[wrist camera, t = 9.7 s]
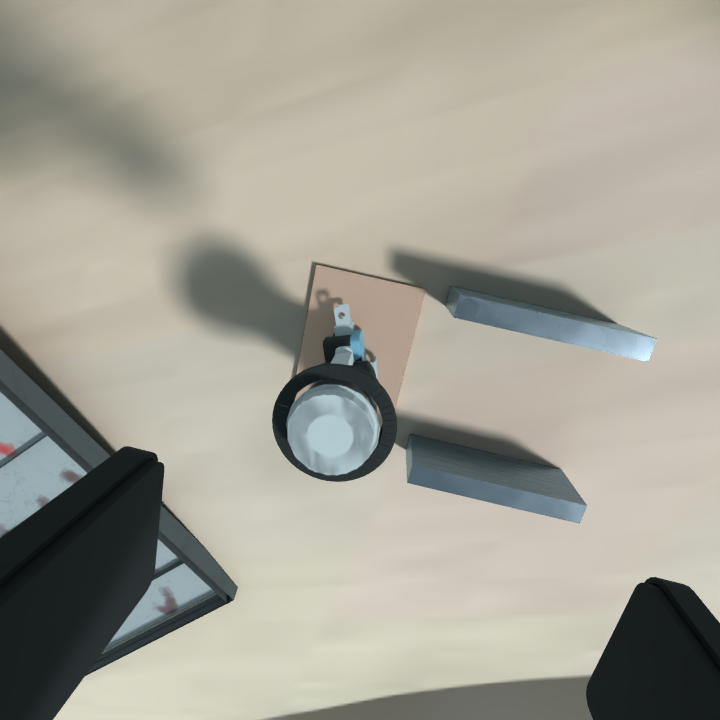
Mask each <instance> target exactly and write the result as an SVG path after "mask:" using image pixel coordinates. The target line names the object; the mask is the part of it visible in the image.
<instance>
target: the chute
mask: <svg viewBox="0 0 720 720" xmlns="http://www.w3.org/2000/svg"><path fill="white" fill-rule="evenodd" d="M445 306H446V307H447V309H448V310H449V312H450V313H451V314H452V316H453V317H454V318H459V319H463V320H468V321H472V322H476V323H481V324H485V325H489V326H494V327H498V328H503V329H507V330H511V331H516V332H520V333H524V334H529V335H533V336H538V337H542V338H546V339H551V340H555V341H560V342H564V343H568V344H573V345H577V346H581V347H586V348H590V349H595V350H599V351H603V352H608V353H612V354H616V355H621V356H625V357H630V358H634V359H638V360H643V361H647V362H648V360H649V358H650V355H651V353H652V351H653V348H654V346H655V343H656V341H657V339H656V338H653V337H651V336H648V335H646V334H643V333H640V332H638V331H635V330H632V329H630V328H627V327H625V326H622V325H619V324H616V323H612V322H607V321H603V320H598V319H594V318H589V317H585V316H581V315H576V314H572V313H567V312H563V311H559V310H554V309H550V308H545V307H541V306H537V305H532V304H528V303H523V302H519V301H515V300H510V299H506V298H501V297H497V296H492V295H488V294H484V293H479V292H475V291H470V290H466V289H462V288H457V287H453V286H451V287H450V291H449V294H448V298H447V302H446V305H445ZM406 464H407V483H410V484H415V485H419V486H423V487H427V488H431V489H436V490H440V491H444V492H448V493H453V494H457V495H461V496H465V497H469V498H474V499H478V500H482V501H486V502H491V503H495V504H499V505H503V506H507V507H512V508H516V509H520V510H524V511H529V512H533V513H537V514H541V515H545V516H550V517H554V518H558V519H562V520H567V521H571V522H575V523H579V524H580V521H581V519H582V517H583V514H584V512H585V510H586V507H587V505H586V503H585V502H584V501H583V499H582V498H581V496H580V495H579V494H578V492H577V491H576V489H575V488H574V487H573V485H572V484H571V482H570V481H569V480H568V478H567V477H566V475H565V474H564V473H563V471H562V470H561V469H557V468H553V467H549V466H545V465H540V464H536V463H532V462H528V461H523V460H519V459H515V458H511V457H506V456H502V455H498V454H493V453H489V452H485V451H481V450H476V449H472V448H468V447H464V446H459V445H455V444H451V443H447V442H442V441H438V440H434V439H429V438H425V437H421V436H417V435H412V434H410V437H409V441H408V444H407V448H406Z"/></svg>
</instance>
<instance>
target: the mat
mask: <svg viewBox="0 0 720 720" xmlns="http://www.w3.org/2000/svg"><path fill="white" fill-rule="evenodd" d="M425 291H426V289H423V288H418V287H414V286H410V285H405V284H401V283H396V282H392V281H388V280H383V279H379V278H374V277H370V276H366V275H361V274H357V273H352V272H348V271H343V270H339V269H335V268H330V267H326V266H321V265H316V270H315V275H314V281H313V286H312V291H311V297H310V302H309V308H308V313H307V319H306V324H305V330H304V335H303V340H302V346H301V351H300V357H299V362H298V368H297V373H296V375H297V374H299V373H300V372H302V371H304V370H305V369H308V368H310V367H313V366H317V365H320V364H322V363H325V357H324V351H323V341H324V339H325V338H326V337H330V336H333V334H334V333H335V332H334V326H336V321H335V314H334V308H335V307H336V306H337V305H342V304H348V305H349V308H350V315H351V322H353V321H354V325H355V330H362V331H363V338H364V345H365V353H366V360H367V361H369V362H374V360H375V356H376V357H377V364H378V381H379V383H380V384H381V385H382V386H383V387H384V389H385V390H386V391H387V393H388V394H389V396H390V398H391V400H392V403H393V405H394V408H395V407H396V403H397V399H398V395H399V392H400V388H401V384H402V380H403V376H404V372H405V368H406V364H407V360H408V357H409V353H410V349H411V345H412V341H413V337H414V333H415V329H416V325H417V322H418V318H419V314H420V310H421V306H422V302H423V298H424V294H425ZM340 314H341V315H342V316H345V314H344V313H343V312H340ZM312 384H313V383H311V384H309V385H308V386H306V387H304V388H303V389H302V390H300V391H299V392H298V393H297V395H296V398H295V401H296V400H297V399H298V398H299V397H300V396H301V395H302V394H303V393H304V392H305V391H307V390H308V389H309V388H310V387H311V385H312ZM376 415H377V418H378V421H379V424H380V429H381V427H382V423H383V422H382V416H381V413H380V410H379V408H378V406H377V413H376Z"/></svg>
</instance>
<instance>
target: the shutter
mask: <svg viewBox="0 0 720 720" xmlns="http://www.w3.org/2000/svg"><path fill="white" fill-rule="evenodd" d="M46 435H47V436H46ZM43 437H44V438H43ZM39 440H40V441H39ZM36 442H37V443H36ZM33 444H34V445H33ZM30 446H31V447H30ZM29 447H30V448H29ZM26 449H27V450H26ZM23 451H24V452H23ZM20 453H21V454H20ZM19 454H20V455H19ZM16 456H17V457H16ZM109 457H110V455H109V454H108V453H107V452H106V451H105V450H104V449H103V448H102V447H101V446H100V445H99V444H98V443H97V442H95V441H94V440H93V439H92V438H91V437H90V436H89V435H88V434H87V433H86V432H85V431H84V430H83V429H82V428H81V427H80V426H79V425H78V424H77V423H76V422H75V421H74V420H73V419H72V418H71V417H70V416H69V415H68V414H67V413H66V412H65V411H64V410H62V409H61V408H60V407H59V406H58V405H57V404H56V403H55V402H54V401H53V400H52V399H51V398H50V397H49V396H48V395H47V394H46V393H45V392H44V391H43V390H42V389H41V388H40V387H39V386H38V385H37V384H36V383H35V382H34V381H33V380H32V379H31V378H29V377H28V376H27V375H26V374H25V373H24V372H23V371H22V370H21V369H20V368H19V367H18V366H17V365H16V364H15V363H14V362H13V361H12V360H11V359H10V358H9V357H8V356H7V355H6V354H5V353H4V352H3V351H2V350H1V349H0V467H1V468H0V538H1V537H2V536H4V535H5V534H7V533H8V532H9V531H11V530H12V529H13V528H15V527H16V526H17V525H19V524H20V523H21V522H23V521H24V520H25V519H27V518H28V517H29V516H31V515H32V514H34V513H35V512H36V511H38V510H39V509H40V508H42V507H43V506H44V505H46V504H47V503H48V502H50V501H51V500H52V499H54V498H55V497H56V496H58V495H59V494H61V493H62V492H63V491H65V490H66V489H67V488H69V487H70V486H71V485H73V484H74V483H75V482H77V481H78V480H79V479H81V478H82V477H83V476H85V475H86V474H87V473H89V472H90V471H92V470H93V469H94V468H96V467H97V466H98V465H100V464H101V463H102V462H104V461H105V460H106V459H108V458H109ZM13 458H14V459H13ZM10 460H11V461H10ZM6 463H7V464H6ZM3 465H4V466H3ZM237 588H238V587H237V586H236V584H235V583H234V582H233V581H232V580H231V578H230V577H229V576H228V575H227V573H226V572H225V571H224V570H223V569H222V567H221V566H220V565H219V564H218V563H217V561H216V560H215V559H214V558H213V557H212V555H211V554H210V553H209V552H208V550H207V549H206V548H205V547H204V546H203V545H202V544H201V543H200V542H199V541H198V540H197V539H196V538H194V537H193V536H192V535H191V534H190V533H189V532H188V531H187V530H186V529H185V528H184V527H183V526H182V525H181V524H180V523H179V522H178V521H177V520H176V519H175V518H174V517H173V516H172V515H171V514H170V513H169V512H168V511H167V510H166V509H165V508H164V507H163V506H161V511H160V522H159V533H158V544H157V555H156V566H155V573H154V577H153V580H152V582H151V585H150V587H149V589H148V590H147V592H146V593H145V595H144V596H143V597H142V599H141V600H140V601H139V603H138V604H137V605H136V607H135V608H134V610H133V611H132V612H131V614H130V615H129V616H128V618H127V619H126V621H125V622H124V623H123V625H122V626H121V627H120V629H119V630H118V631H117V633H116V634H115V636H114V637H113V638H112V640H111V641H110V642H109V644H108V645H107V646H106V648H105V649H107V648H109V647H111V646H113V645H115V644H117V643H119V642H121V641H123V640H125V639H127V638H129V637H131V636H132V635H134V634H136V633H138V632H140V631H142V630H144V629H146V628H148V627H150V626H152V625H154V624H156V623H158V622H160V621H161V620H163V619H165V618H167V617H169V616H171V615H173V614H175V613H177V612H179V611H181V610H183V609H185V608H187V607H189V606H190V605H192V604H194V603H196V602H198V601H200V600H202V599H204V598H206V597H208V596H210V595H212V594H214V593H216V594H218V595H216V596H214V597H212V598H210V599H208V600H206V601H204V602H202V603H200V604H199V605H197V606H195V607H193V608H191V609H189V610H187V611H185V612H183V613H181V614H179V615H177V616H175V617H173V618H172V619H170V620H168V621H166V622H164V623H162V624H160V625H158V626H156V627H154V628H152V629H150V630H148V631H147V632H145V633H143V634H141V635H139V636H137V637H135V638H133V639H131V640H129V641H127V642H125V643H123V644H122V645H120V646H118V647H116V648H114V649H112V650H110V651H108V652H106V653H104V654H102V655H100V656H99V657H98V659H97V660H96V661H95V663H94V664H93V666H92V667H91V668H90V670H89V671H88V672H87V674H86V675H88V674H90V673H92V672H94V671H96V670H98V669H100V668H102V667H104V666H106V665H108V664H110V663H112V662H114V661H116V660H118V659H119V658H121V657H123V656H125V655H127V654H129V653H131V652H133V651H135V650H137V649H139V648H141V647H143V646H145V645H147V644H149V643H151V642H153V641H155V640H157V639H159V638H161V637H163V636H165V635H167V634H168V633H170V632H172V631H174V630H176V629H178V628H180V627H182V626H184V625H186V624H188V623H190V622H192V621H194V620H196V619H198V618H200V617H202V616H204V615H206V614H208V613H210V612H212V611H214V610H216V609H218V608H219V607H221V606H223V605H225V604H227V603H229V602H231V601H233V600H234V598H235V595H236V591H237ZM105 649H104V650H105ZM86 675H85V676H86Z"/></svg>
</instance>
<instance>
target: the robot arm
mask: <svg viewBox="0 0 720 720" xmlns="http://www.w3.org/2000/svg"><path fill="white" fill-rule="evenodd" d="M163 478H164V464H163V463H161V462H158V458H157V455H156V454H155V453H153V452H149V451H145V450H141V449H137V448H133V447H129V446H127V447H123V448H121V449H120V450H119V451H117V452H116V453H114V454H113V455H112V456H110V457H109V458H108V459H106V460H105V461H104V462H102V463H101V464H100V465H98V466H97V467H96V468H94V469H93V470H92V471H90V472H89V473H87V474H86V475H85V476H83V477H82V478H81V479H79V480H78V481H77V482H75V483H74V484H73V485H71V486H70V487H69V488H67V489H66V490H65V491H63V492H62V493H61V494H59V495H58V496H56V497H55V498H54V499H52V500H51V501H50V502H48V503H47V504H46V505H44V506H43V507H42V508H40V509H39V510H38V511H36V512H35V513H34V514H32V515H31V516H29V517H28V518H27V519H25V520H24V521H23V522H21V523H20V524H19V525H17V526H16V527H15V528H13V529H12V530H11V531H9V532H8V533H7V534H5V535H4V536H2V537H1V538H0V720H53V719H54V717H55V716H56V715H57V713H58V712H59V711H60V709H61V708H62V706H63V705H64V704H65V702H66V701H67V700H68V698H69V697H70V696H71V694H72V693H73V691H74V690H75V689H76V687H77V686H78V685H79V683H80V682H81V681H82V679H83V678H84V676H85V675H86V674H87V672H88V671H89V670H90V668H91V667H92V666H93V664H94V663H95V661H96V660H97V659H98V657H99V656H100V655H101V653H102V652H103V651H104V649H105V648H106V646H107V645H108V644H109V642H110V641H111V640H112V638H113V637H114V636H115V634H116V633H117V631H118V630H119V629H120V627H121V626H122V625H123V623H124V622H125V621H126V619H127V618H128V616H129V615H130V614H131V612H132V611H133V610H134V608H135V607H136V605H137V604H138V603H139V601H140V600H141V599H142V597H143V596H144V595H145V593H146V592H147V590H148V589H149V587H150V585H151V582H152V580H153V577H154V573H155V566H156V555H157V544H158V533H159V522H160V511H161V500H162V489H163ZM586 696H587V697H586V698H587V704H588V707H589V710H590V712H591V715H592V718H593V720H720V623H719V622H718V620H717V619H716V618H715V617H714V616H713V614H712V613H711V612H710V611H709V609H708V608H707V607H706V606H705V604H704V603H703V602H702V601H701V600H700V598H699V597H698V596H697V595H696V593H695V592H694V591H693V590H692V589H691V588H690V587H689V586H686V585H684V584H680V583H676V582H672V581H668V580H664V579H660V578H656V577H650V578H649V579H647V580H646V581H645V583H640V584H638V585H637V586H636V588H635V589H634V591H633V593H632V595H631V597H630V599H629V602H628V604H627V606H626V608H625V610H624V612H623V614H622V616H621V618H620V620H619V622H618V624H617V626H616V628H615V630H614V632H613V634H612V636H611V638H610V640H609V642H608V644H607V646H606V648H605V650H604V652H603V654H602V656H601V658H600V660H599V662H598V664H597V666H596V668H595V670H594V672H593V674H592V676H591V678H590V680H589V682H588V685H587V691H586Z"/></svg>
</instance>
